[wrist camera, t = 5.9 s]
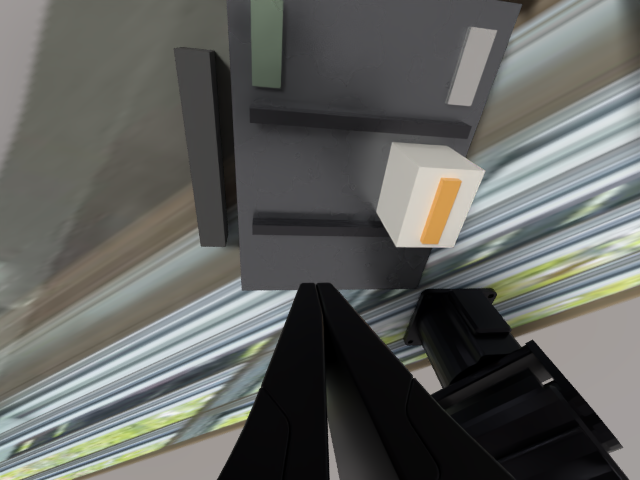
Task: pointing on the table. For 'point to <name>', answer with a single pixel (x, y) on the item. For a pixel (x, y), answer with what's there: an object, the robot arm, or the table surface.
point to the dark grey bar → (203, 141)
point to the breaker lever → (426, 194)
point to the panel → (347, 125)
